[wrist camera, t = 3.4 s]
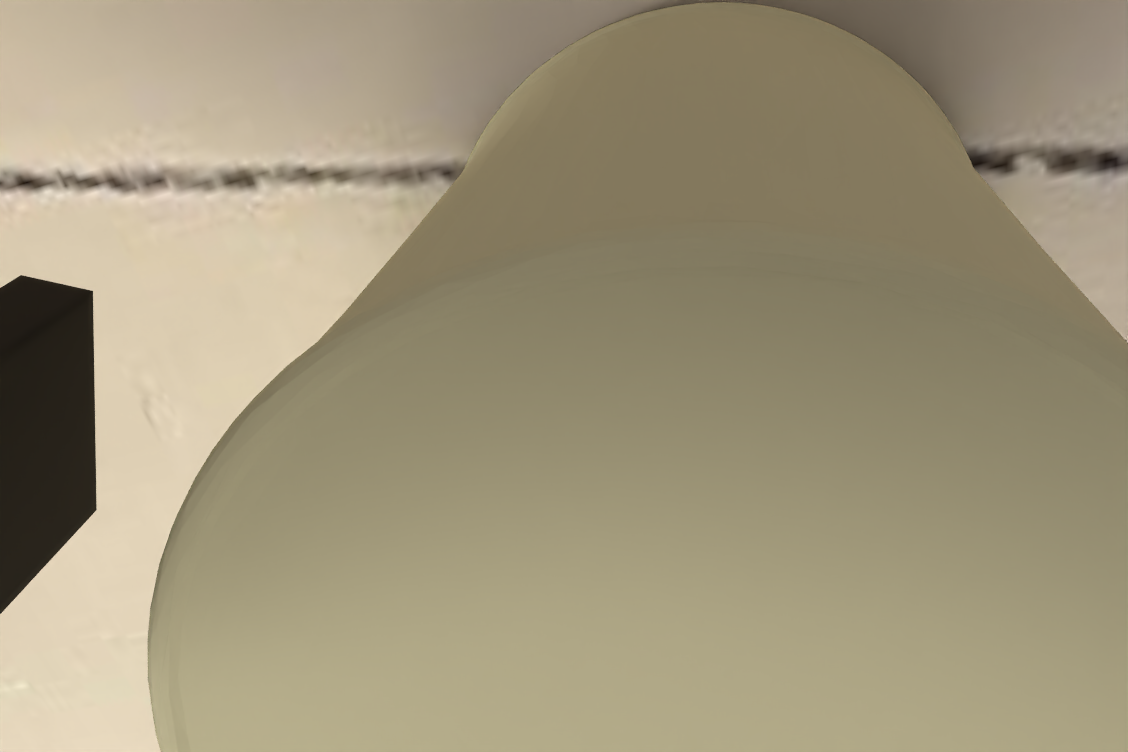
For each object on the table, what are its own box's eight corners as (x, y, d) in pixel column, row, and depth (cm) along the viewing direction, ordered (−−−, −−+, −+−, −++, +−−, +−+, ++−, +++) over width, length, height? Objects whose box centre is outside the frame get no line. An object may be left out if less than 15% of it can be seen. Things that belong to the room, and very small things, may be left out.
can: (383, 390, 21) (18, 970, 10) (564, -99, 16) (278, -23, 6) (820, 573, 21) (930, 1314, 10) (1100, 144, 17) (1766, 633, 6)
